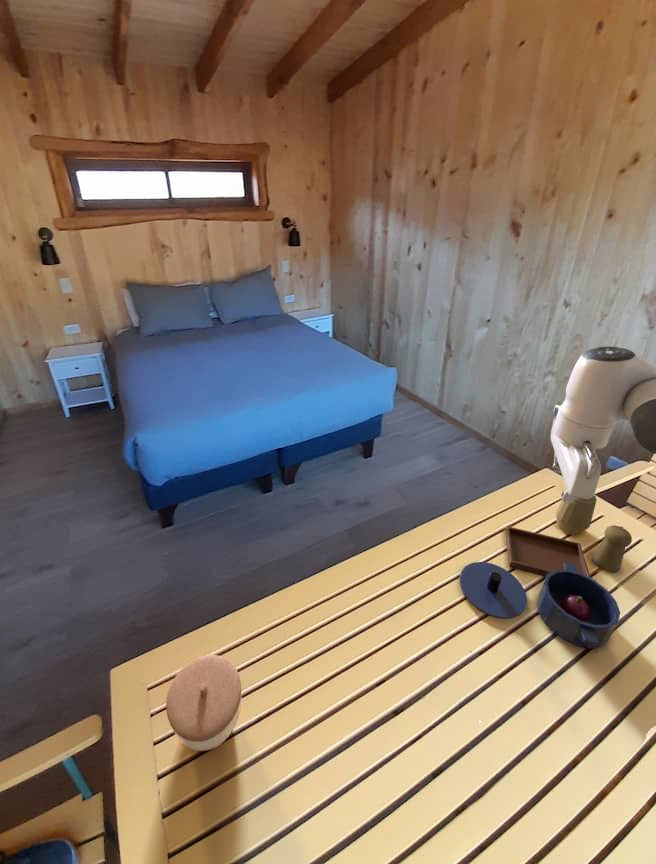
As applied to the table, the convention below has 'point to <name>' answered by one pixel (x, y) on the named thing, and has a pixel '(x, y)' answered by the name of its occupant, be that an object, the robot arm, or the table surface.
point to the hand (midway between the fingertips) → (561, 485)
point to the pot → (567, 626)
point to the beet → (576, 607)
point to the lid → (493, 590)
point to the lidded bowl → (204, 702)
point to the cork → (611, 549)
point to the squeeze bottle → (575, 515)
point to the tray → (542, 552)
